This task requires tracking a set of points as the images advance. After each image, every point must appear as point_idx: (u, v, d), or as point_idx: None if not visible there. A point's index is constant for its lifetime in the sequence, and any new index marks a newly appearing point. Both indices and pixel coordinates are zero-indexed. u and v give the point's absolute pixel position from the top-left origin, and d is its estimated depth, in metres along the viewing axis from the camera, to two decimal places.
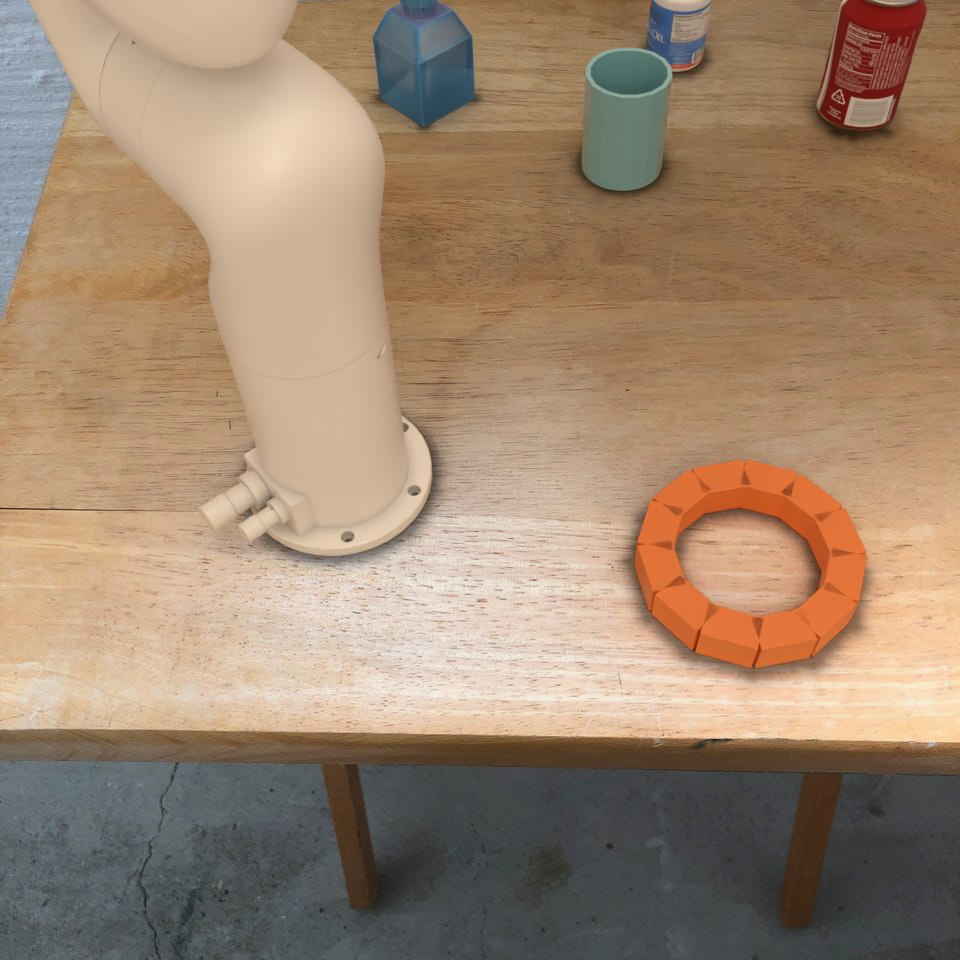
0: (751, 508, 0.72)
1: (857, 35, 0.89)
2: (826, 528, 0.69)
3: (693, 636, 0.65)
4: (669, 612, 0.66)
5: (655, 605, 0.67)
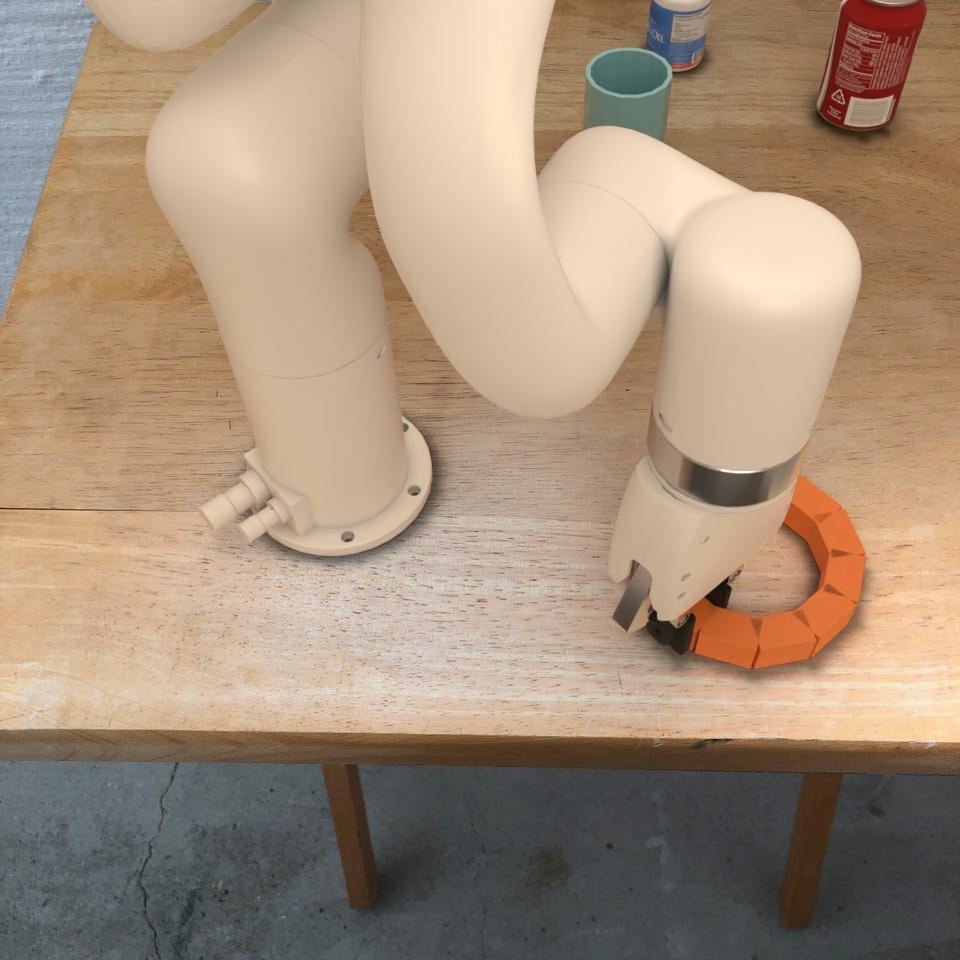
0: None
1: (857, 34, 0.89)
2: (825, 529, 0.69)
3: (692, 637, 0.65)
4: None
5: None
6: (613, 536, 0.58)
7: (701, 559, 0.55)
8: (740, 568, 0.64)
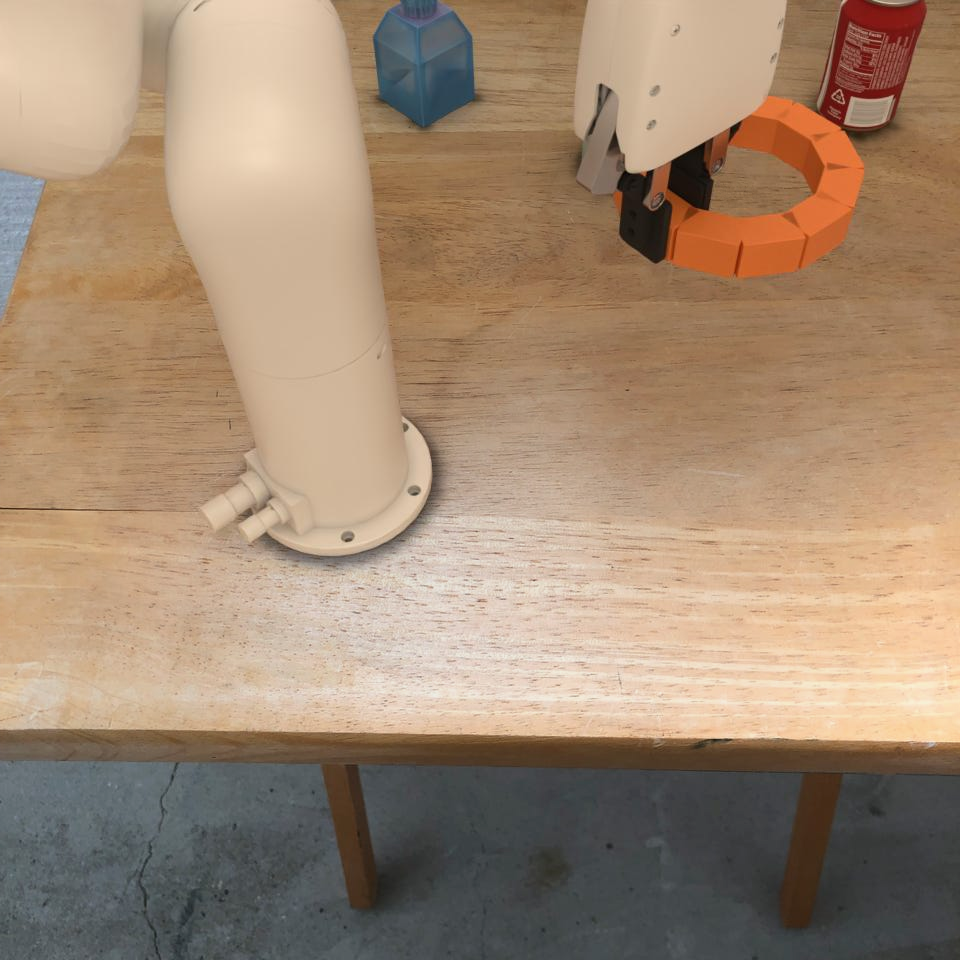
0: (742, 144, 0.67)
1: (857, 34, 0.89)
2: (822, 146, 0.63)
3: (669, 239, 0.60)
4: None
5: None
6: (578, 64, 0.52)
7: (672, 66, 0.49)
8: (723, 155, 0.58)
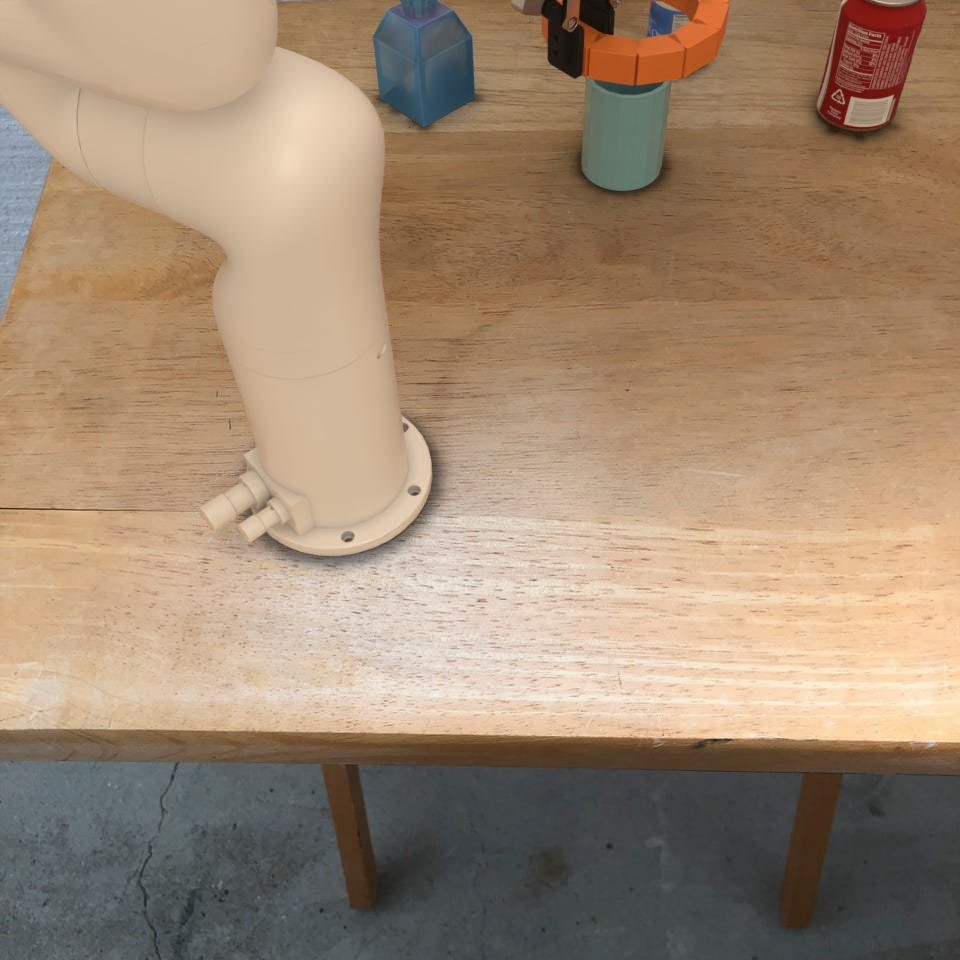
0: None
1: (857, 34, 0.89)
2: None
3: (585, 57, 0.80)
4: None
5: None
6: None
7: None
8: None
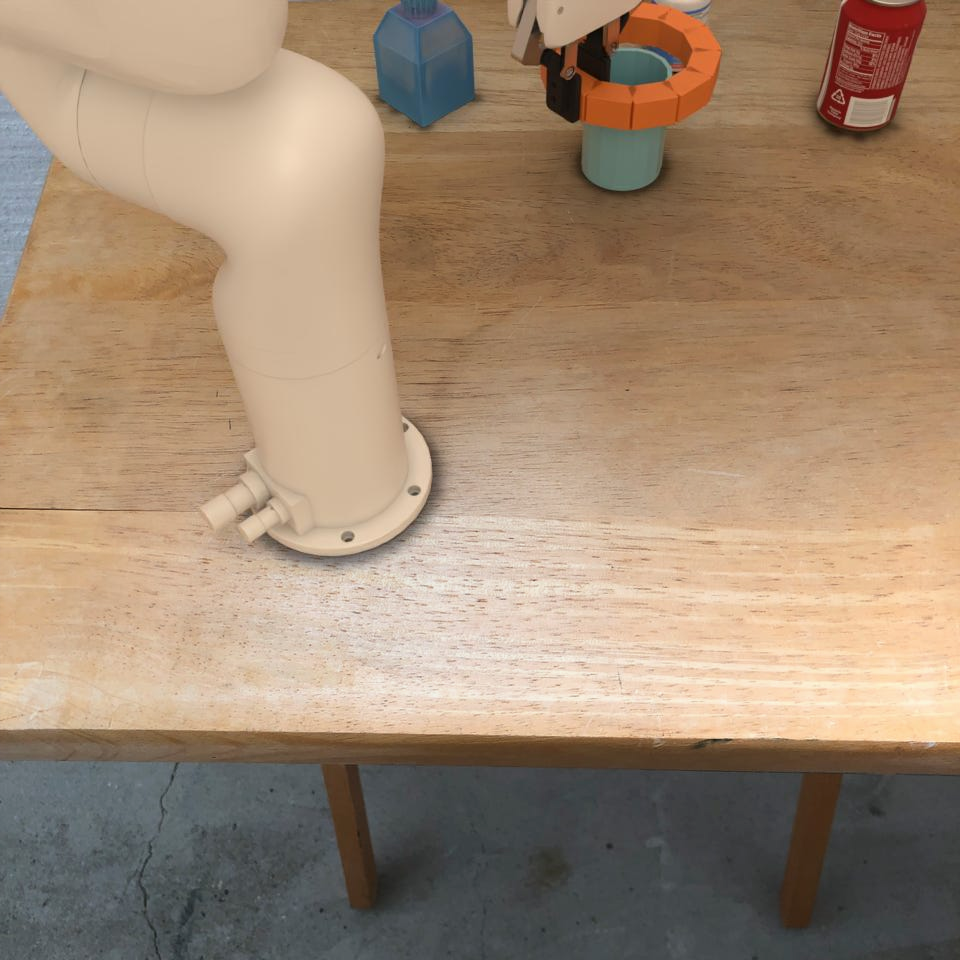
0: (636, 41, 0.90)
1: (857, 34, 0.89)
2: (691, 37, 0.86)
3: (582, 103, 0.83)
4: None
5: None
6: None
7: None
8: (616, 40, 0.82)
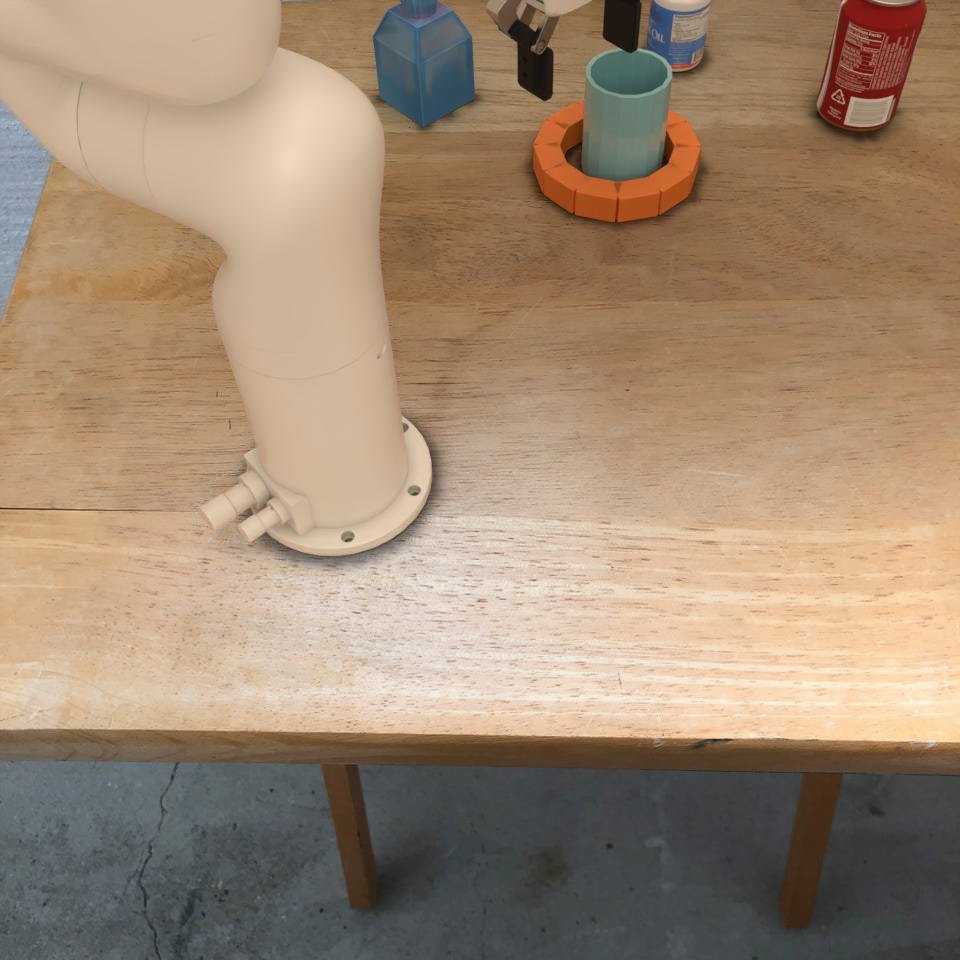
0: None
1: (857, 34, 0.89)
2: (673, 132, 0.93)
3: (571, 197, 0.90)
4: (554, 183, 0.90)
5: (545, 182, 0.91)
6: None
7: None
8: None
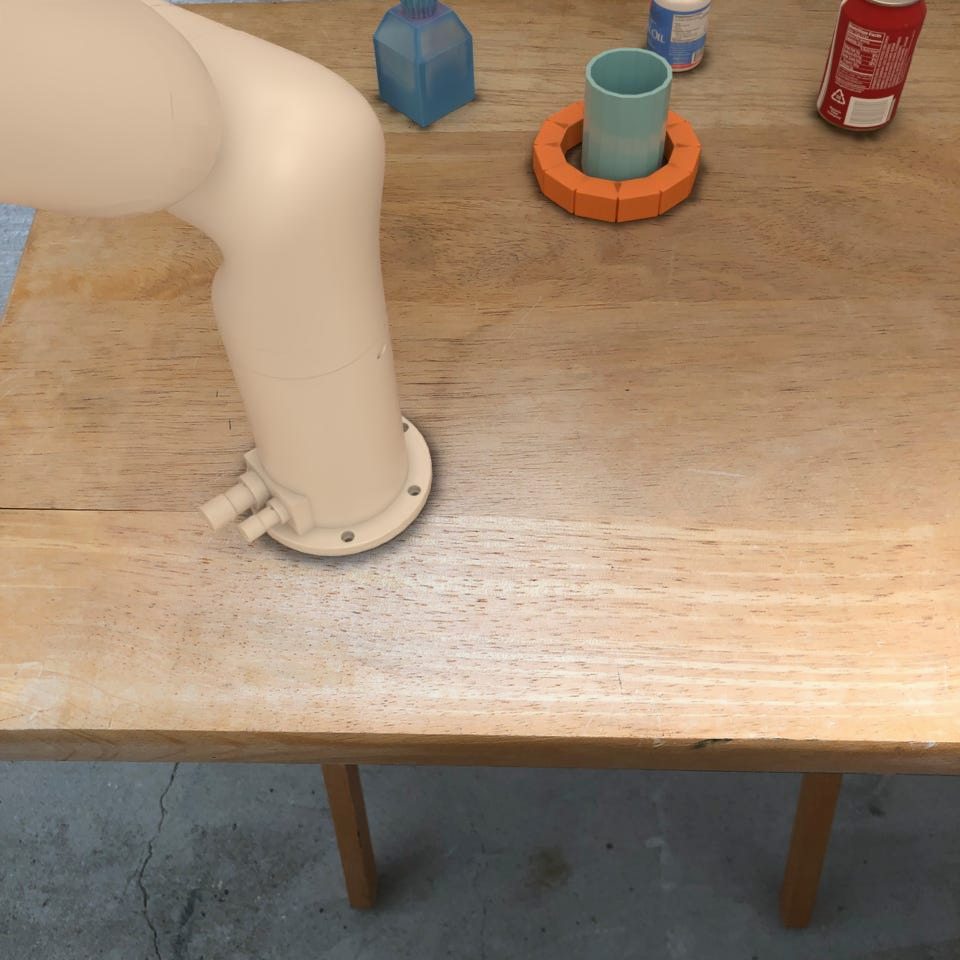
0: None
1: (857, 34, 0.89)
2: (673, 132, 0.93)
3: (571, 197, 0.90)
4: (554, 183, 0.90)
5: (545, 182, 0.91)
6: None
7: None
8: None
